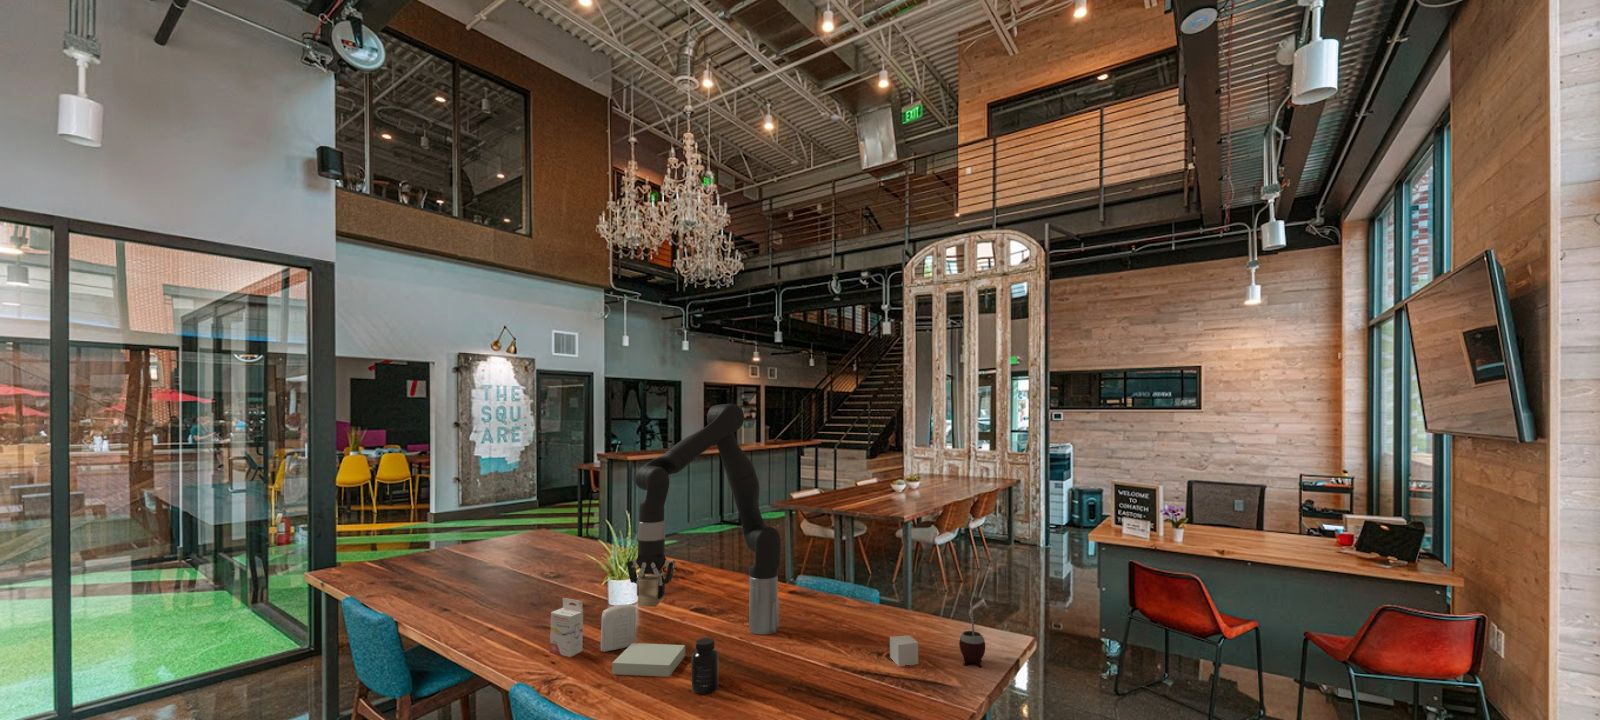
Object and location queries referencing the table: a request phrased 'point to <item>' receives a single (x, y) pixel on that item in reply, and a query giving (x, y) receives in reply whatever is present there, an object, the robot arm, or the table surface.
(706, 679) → the supplement bottle
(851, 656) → the table surface
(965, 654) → the mate gourd
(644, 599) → the birch block
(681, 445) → the robot arm
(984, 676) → the table surface
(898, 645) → the grey cube
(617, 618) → the photo printer
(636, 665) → the base plate
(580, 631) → the ink cartridge box
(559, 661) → the table surface
